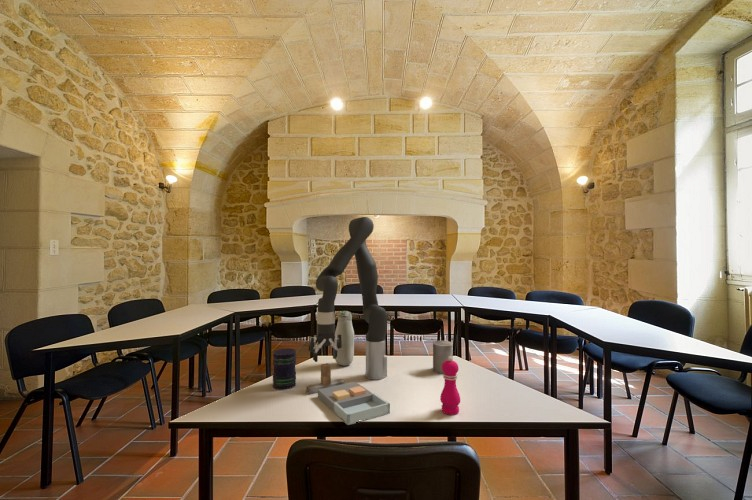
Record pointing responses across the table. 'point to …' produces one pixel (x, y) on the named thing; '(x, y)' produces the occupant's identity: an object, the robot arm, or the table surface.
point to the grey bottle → (345, 338)
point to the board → (329, 400)
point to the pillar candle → (441, 354)
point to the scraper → (324, 380)
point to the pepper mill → (450, 388)
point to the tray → (363, 410)
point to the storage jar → (284, 369)
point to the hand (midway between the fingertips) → (325, 360)
